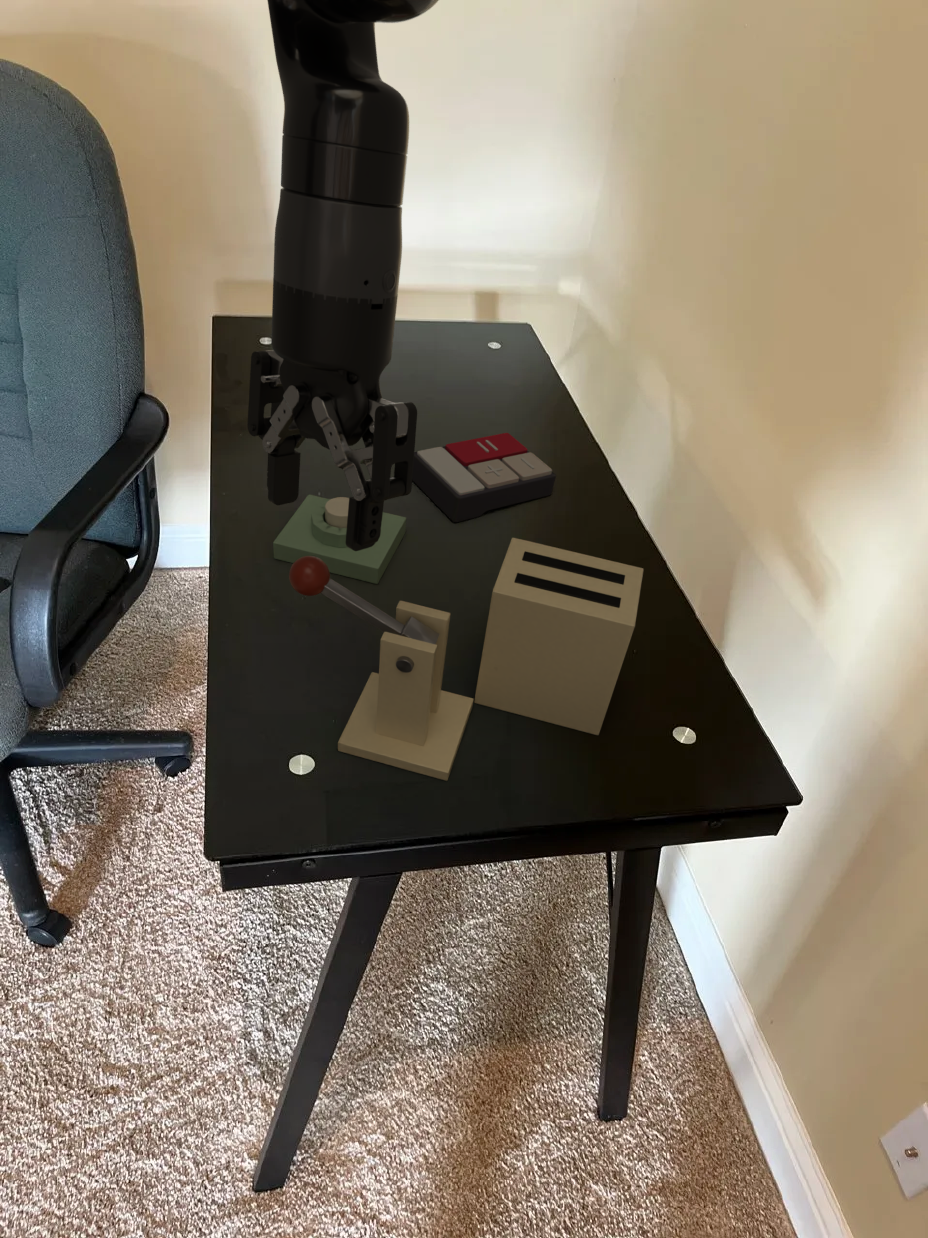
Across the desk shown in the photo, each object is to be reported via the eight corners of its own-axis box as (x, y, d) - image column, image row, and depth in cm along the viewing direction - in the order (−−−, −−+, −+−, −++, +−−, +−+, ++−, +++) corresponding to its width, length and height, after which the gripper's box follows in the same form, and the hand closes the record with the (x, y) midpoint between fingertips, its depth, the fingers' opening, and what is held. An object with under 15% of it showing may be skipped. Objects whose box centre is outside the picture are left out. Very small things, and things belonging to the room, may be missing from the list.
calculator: (559, 470, 103) (459, 492, 96) (551, 499, 106) (454, 523, 98) (509, 428, 109) (411, 446, 102) (503, 456, 112) (408, 476, 105)
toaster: (473, 703, 78) (492, 589, 68) (492, 647, 84) (512, 535, 74) (598, 735, 77) (635, 625, 67) (608, 676, 82) (644, 566, 73)
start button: (320, 524, 90) (320, 511, 89) (332, 506, 93) (332, 493, 91) (351, 532, 90) (351, 519, 88) (362, 514, 92) (363, 501, 91)
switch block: (273, 558, 91) (271, 529, 88) (308, 509, 98) (308, 480, 95) (377, 584, 89) (378, 555, 86) (405, 532, 96) (407, 504, 94)
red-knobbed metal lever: (276, 589, 65) (291, 564, 63) (292, 565, 68) (307, 541, 66) (414, 674, 68) (433, 653, 66) (425, 648, 70) (443, 627, 68)
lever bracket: (337, 751, 72) (337, 647, 64) (371, 680, 79) (375, 577, 70) (447, 781, 71) (462, 680, 62) (472, 706, 78) (489, 605, 69)
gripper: (215, 255, 51) (216, 498, 59) (369, 307, 44) (346, 578, 52) (311, 257, 56) (299, 480, 64) (463, 305, 49) (429, 550, 57)
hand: (320, 523), depth 58 cm, fingers open, 8 cm apart
